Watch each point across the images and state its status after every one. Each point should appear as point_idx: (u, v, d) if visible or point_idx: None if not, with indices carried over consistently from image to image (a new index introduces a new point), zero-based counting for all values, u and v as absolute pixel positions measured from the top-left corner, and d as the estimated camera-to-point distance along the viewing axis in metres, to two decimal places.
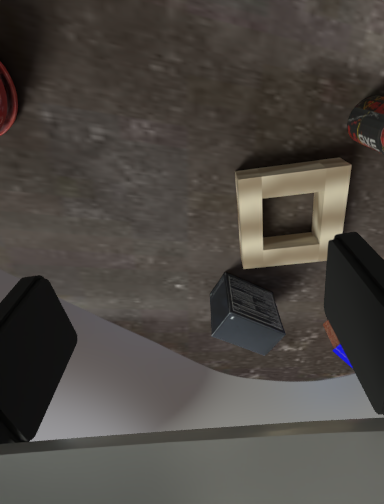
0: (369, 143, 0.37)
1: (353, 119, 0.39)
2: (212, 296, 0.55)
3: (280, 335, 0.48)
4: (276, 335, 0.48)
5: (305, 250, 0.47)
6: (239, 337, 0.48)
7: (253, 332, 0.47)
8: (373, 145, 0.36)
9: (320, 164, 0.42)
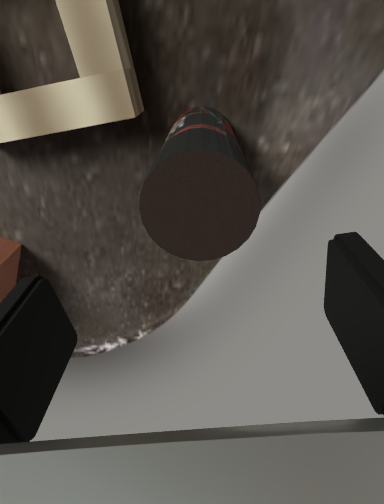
0: (174, 127, 0.21)
1: (204, 109, 0.25)
2: None
3: None
4: None
5: None
6: None
7: None
8: (173, 130, 0.21)
9: (128, 65, 0.23)
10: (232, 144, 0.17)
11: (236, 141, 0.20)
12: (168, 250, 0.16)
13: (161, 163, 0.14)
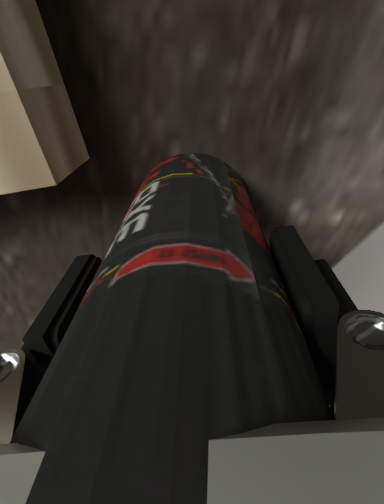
0: (131, 216, 0.10)
1: (196, 161, 0.13)
2: None
3: None
4: None
5: None
6: None
7: None
8: (124, 230, 0.09)
9: (41, 81, 0.11)
10: (283, 351, 0.05)
11: (271, 265, 0.08)
12: None
13: None
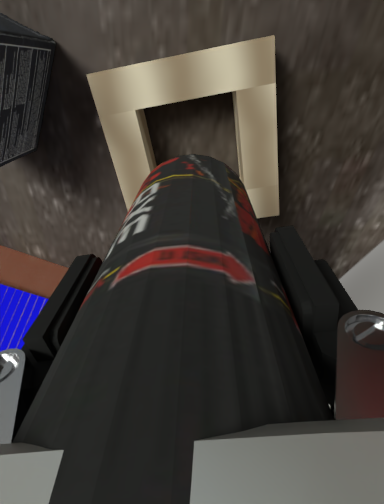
0: (132, 218, 0.10)
1: (196, 162, 0.13)
2: None
3: None
4: None
5: None
6: None
7: None
8: (125, 232, 0.09)
9: None
10: (284, 353, 0.05)
11: (271, 266, 0.08)
12: None
13: None
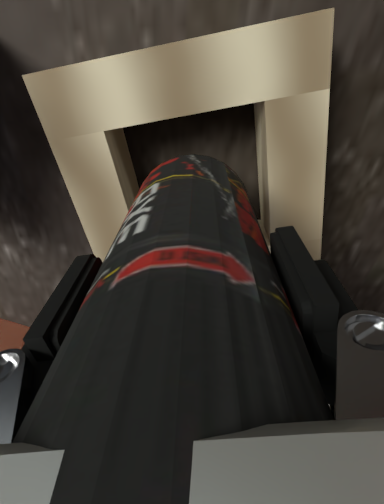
0: (132, 218, 0.10)
1: (196, 162, 0.13)
2: None
3: None
4: None
5: None
6: None
7: None
8: (125, 232, 0.09)
9: None
10: (284, 353, 0.05)
11: (271, 267, 0.08)
12: None
13: None
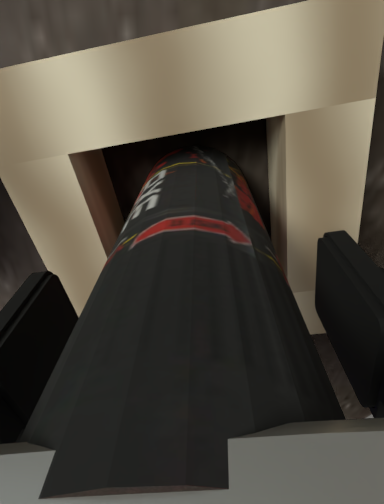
0: (142, 199, 0.11)
1: (199, 152, 0.14)
2: None
3: None
4: None
5: None
6: None
7: None
8: (137, 210, 0.10)
9: None
10: (274, 293, 0.06)
11: (267, 238, 0.09)
12: None
13: None
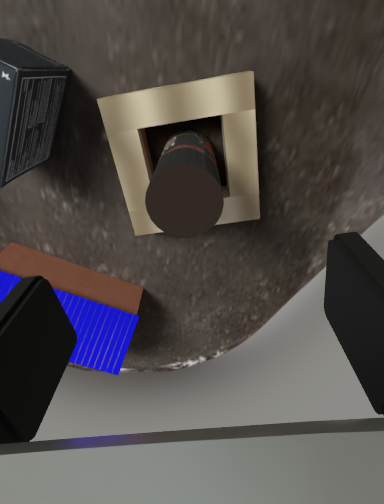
0: (168, 145, 0.29)
1: (190, 131, 0.33)
2: (13, 43, 0.29)
3: None
4: None
5: (144, 191, 0.34)
6: None
7: None
8: (167, 148, 0.29)
9: None
10: (207, 159, 0.25)
11: (212, 156, 0.28)
12: (163, 230, 0.24)
13: (160, 172, 0.21)
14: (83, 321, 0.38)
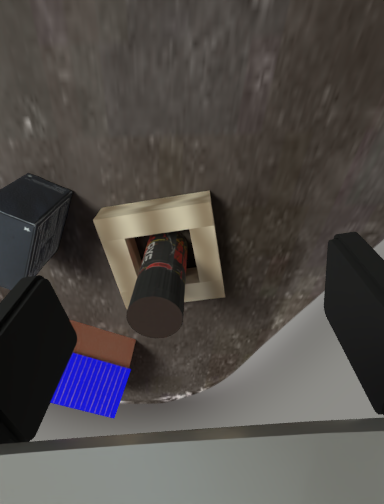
0: (147, 254, 0.38)
1: (167, 233, 0.42)
2: (29, 179, 0.38)
3: None
4: None
5: (131, 278, 0.43)
6: None
7: (9, 258, 0.34)
8: (146, 258, 0.37)
9: (221, 270, 0.44)
10: (173, 279, 0.33)
11: (180, 266, 0.37)
12: (141, 333, 0.33)
13: (136, 301, 0.30)
14: (86, 375, 0.48)
